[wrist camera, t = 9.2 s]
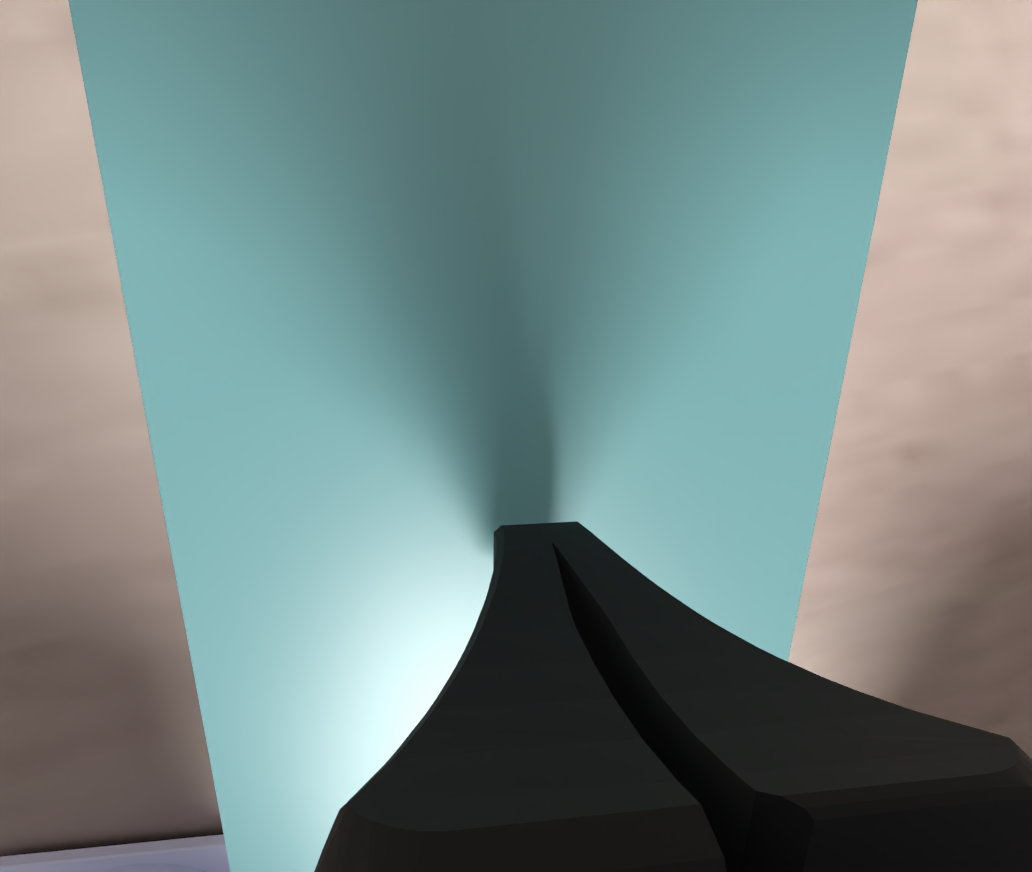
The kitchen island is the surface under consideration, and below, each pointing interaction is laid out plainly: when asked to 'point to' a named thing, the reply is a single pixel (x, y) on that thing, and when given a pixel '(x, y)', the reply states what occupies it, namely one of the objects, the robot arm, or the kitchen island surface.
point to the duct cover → (472, 327)
